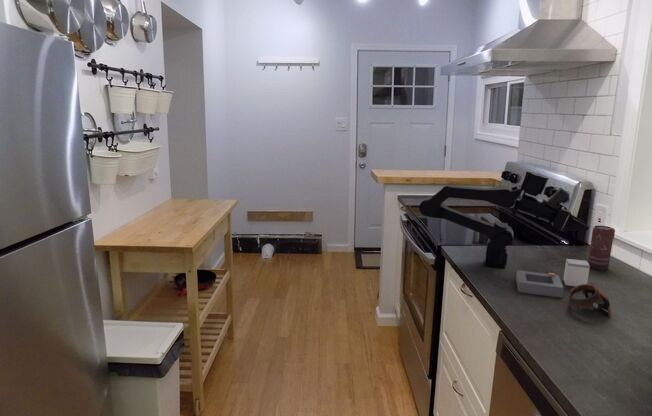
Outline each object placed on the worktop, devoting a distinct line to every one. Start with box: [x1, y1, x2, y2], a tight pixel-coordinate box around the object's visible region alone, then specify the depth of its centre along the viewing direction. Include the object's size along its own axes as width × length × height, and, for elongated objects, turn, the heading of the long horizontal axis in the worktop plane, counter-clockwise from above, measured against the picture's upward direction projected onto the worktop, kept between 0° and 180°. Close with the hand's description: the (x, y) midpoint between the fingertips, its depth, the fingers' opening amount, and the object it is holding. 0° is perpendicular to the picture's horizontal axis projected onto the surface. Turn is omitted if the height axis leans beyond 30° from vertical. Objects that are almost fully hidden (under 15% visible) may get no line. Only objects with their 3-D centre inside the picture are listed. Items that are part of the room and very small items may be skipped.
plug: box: [563, 258, 591, 287], centre depth 138 cm, size 6×4×7 cm
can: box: [587, 225, 616, 271], centre depth 152 cm, size 6×6×14 cm
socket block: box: [515, 269, 565, 299], centre depth 135 cm, size 12×10×4 cm
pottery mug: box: [567, 282, 612, 318], centre depth 121 cm, size 12×10×8 cm
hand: (586, 226), depth 141 cm, fingers open, 9 cm apart
